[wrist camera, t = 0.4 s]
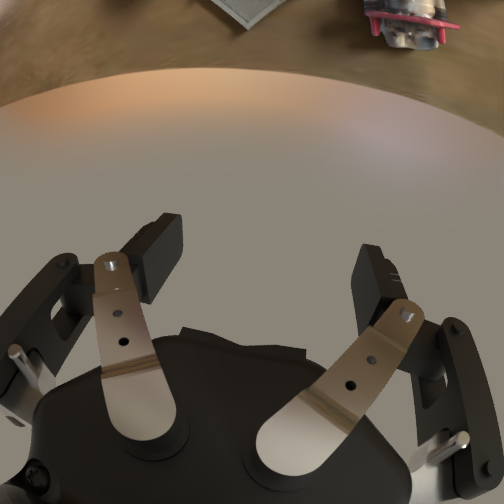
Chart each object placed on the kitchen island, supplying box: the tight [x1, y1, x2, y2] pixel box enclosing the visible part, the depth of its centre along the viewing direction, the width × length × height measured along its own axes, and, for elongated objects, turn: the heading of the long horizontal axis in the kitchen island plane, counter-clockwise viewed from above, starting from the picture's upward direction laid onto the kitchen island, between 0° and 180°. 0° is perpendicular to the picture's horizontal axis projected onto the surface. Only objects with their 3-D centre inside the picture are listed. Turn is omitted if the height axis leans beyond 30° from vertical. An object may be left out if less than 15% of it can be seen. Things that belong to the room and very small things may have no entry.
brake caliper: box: [363, 0, 460, 51], centre depth 18 cm, size 11×11×12 cm
